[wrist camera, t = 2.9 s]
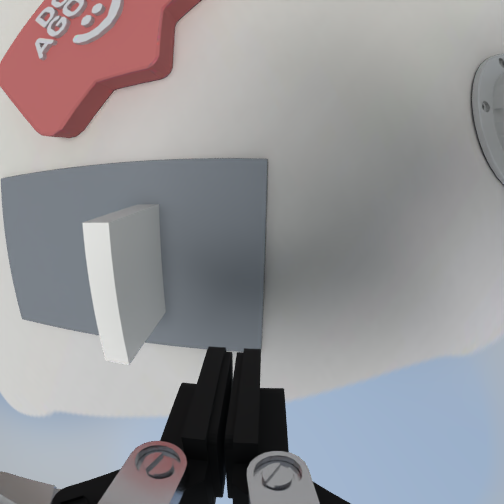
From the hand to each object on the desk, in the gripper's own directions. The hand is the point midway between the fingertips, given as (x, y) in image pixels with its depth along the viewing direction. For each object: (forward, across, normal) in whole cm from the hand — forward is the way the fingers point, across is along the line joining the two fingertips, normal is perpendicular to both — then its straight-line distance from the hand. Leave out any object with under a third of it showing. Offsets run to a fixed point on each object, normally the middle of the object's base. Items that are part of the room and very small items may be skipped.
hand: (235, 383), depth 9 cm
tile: (+12, +7, 0) cm, 14 cm away
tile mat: (+13, +11, 0) cm, 17 cm away
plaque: (+13, +12, -19) cm, 26 cm away
